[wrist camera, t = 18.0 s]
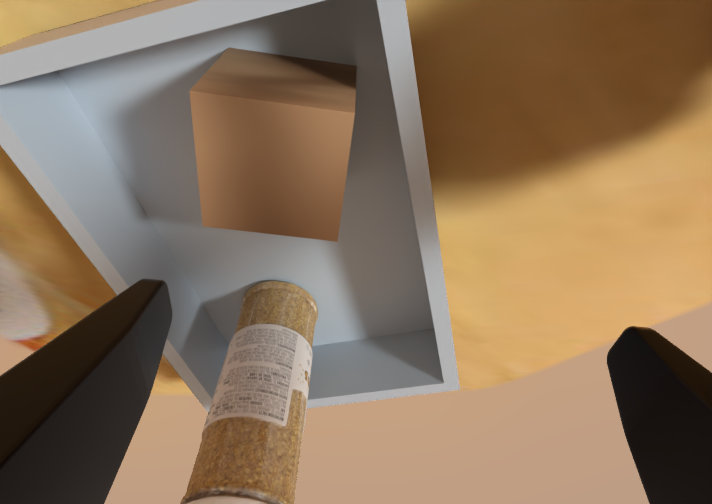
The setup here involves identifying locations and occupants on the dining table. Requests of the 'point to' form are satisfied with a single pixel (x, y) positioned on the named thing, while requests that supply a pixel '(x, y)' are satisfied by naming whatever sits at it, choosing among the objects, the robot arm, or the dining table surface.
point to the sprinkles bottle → (259, 402)
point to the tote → (181, 189)
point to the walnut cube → (273, 143)
